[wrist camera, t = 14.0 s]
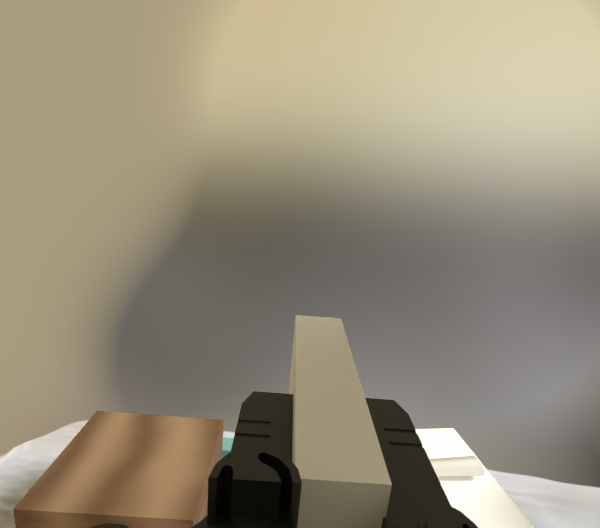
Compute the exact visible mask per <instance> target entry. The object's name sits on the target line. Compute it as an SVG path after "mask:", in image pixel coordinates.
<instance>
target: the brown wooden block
mask: <svg viewBox="0 0 600 528" xmlns="http://www.w3.org/2000/svg"><path fill="white" fill-rule="evenodd" d="M223 422H224V421H223V420H217V419H202V418H188V417H173V416H160V415H144V414H132V413H117V412H103V411H97V412H96V413H95V414H94V415H93V416H92V417H91V419H90V420H89V421H88V422H87V423H86V425H85V426H84V427H83V428H82V429H81V430H80V432H79V433H78V434H77V435H76V436H75V437H74V439H73V440H72V441H71V442H70V443H69V445H68V446H67V447H66V448H65V449H64V450H63V452H62V453H61V454H60V455H59V456H58V457H57V459H56V460H55V461H54V462H53V463H52V465H51V466H50V467H49V468H48V469H47V470H46V472H45V473H44V474H43V475H42V476H41V478H40V479H39V480H38V481H37V482H36V483H35V485H34V486H33V487H32V488H31V489H30V490H29V492H28V493H27V494H26V495H25V496H24V498H23V499H22V500H21V501H20V502H19V503H18V505H17V506H16V507H15V508H14V517H15V524H16V528H88V527H92V526H96V525H101V524H105V523H112V524H122V525H126V526H128V527H129V528H191V527H193V526H194V525H196V524H197V523H199V522H200V521H201V520H202V519H204V518H205V517H206V516H207V506H208V477H209V475H210V474H211V472H212V470H213V468H214V466H215V464H216V463H217V462H219V461H220V460H221V459H222V446H223Z"/></svg>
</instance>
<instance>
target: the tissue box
mask: <svg viewBox="0 0 600 528" xmlns="http://www.w3.org/2000/svg"><path fill="white" fill-rule="evenodd" d="M415 430H416V434H418V436H419V438H420V441H421V443H422V448H424V449H425V451H426V453H427V456H428V458H429V460H430V462H431V464H432V466H433V468H434V471H435V473H436V475H437V477H438V479H439V481H440V483H441V486H442V488H443V490H444V492H445V494H446V496H447V499H448V501H449V503H450V505H451V507H453V508H455V509H457V510H459V511H461V512H462V513H463V514H464V515H465V516H467V517H468V518H469V519H470V520H471V521H472V522H473V523H475V524H476V525H477V527H478V528H534V527H533V526H532V525H531V524H530V522H529V521H528V520H527V519H526V517H525V516H524V515H523V514H522V512H521V511H520V510H519V509H518V507H517V506H516V505H515V504H514V503H513V501H512V500H511V499H510V498H509V496H508V495H507V494H506V493H505V491H504V490H503V489H502V488H501V486H500V485H499V484H498V483H497V481H496V480H495V479H494V478H493V476H492V475H491V474H490V473H489V471H488V470H487V469H486V468H485V467H484V465H483V464H482V463H481V462H480V460H479V459H478V458H477V457H476V455H475V454H474V453H473V452H472V450H471V449H470V448H469V447H468V446H467V444H466V443H465V442H464V440H463V439H462V438H461V437H460V436H459V434H458V433H457V432H456V431H455V430H454V428H444V429H443V428H442V429H440V428H439V429H415Z"/></svg>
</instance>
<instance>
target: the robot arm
mask: <svg viewBox="0 0 600 528" xmlns="http://www.w3.org/2000/svg"><path fill="white" fill-rule="evenodd" d="M293 344H294V345H293V354H292V365H291V377H290V387H289V394H281V393H266V392H253V393H252V394H251V395H250V396H249V397H248V398H247V399H246V400H245V401H244V402H243V403H242V406H241V410H240V415H239V419H238V423H237V428H236V431H235V436H234V439H233V444H232V448H231V452H230V453H228V454H227V455H226V456H225V457H223V458H222V459H221V460H220V461H219V462H217V463H216V464H215V466H214V468H213V470H212V472H211V474H210V475H209V477H208V506H207V516H206V517H205V518H204V519H202V520H201V521H200V522H199V523H197V524H196V525H194V526H193V527H191V528H478V527H477V525H476V524H475V523H473V522H472V521H471V520H470V519H469V518H468V517H467V516H465V515H464V514H463V513H462V512H461V511H459V510H457V509H455V508H453V507H451V505H450V503H449V501H448V499H447V496H446V494H445V492H444V490H443V488H442V486H441V483H440V481H439V479H438V477H437V475H436V473H435V471H434V468H433V466H432V464H431V462H430V460H429V458H428V456H427V453H426V451H425V449H424V448H422V443H421V441H420V438H419V436H418V434H416V430H415V428H414V426H413V423H412V421H411V419H410V417H409V415H408V414H407V413H406V412H405V411H404V410H403V409H402V408H401V407H400V406H399V405H398V404H397V403H396V402H395V401H394V400H383V399H370V398H365V395H364V392H363V389H362V386H361V382H360V379H359V376H358V373H357V369H356V367H355V363H354V360H353V356H352V353H351V350H350V347H349V343H348V340H347V337H346V334H345V330H344V327H343V324H342V320H341V319H337V318H325V317H313V316H299V315H296V321H295V332H294V343H293ZM88 528H129V527H128V526H126V525H122V524H112V523H105V524H101V525H96V526H92V527H88Z"/></svg>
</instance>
